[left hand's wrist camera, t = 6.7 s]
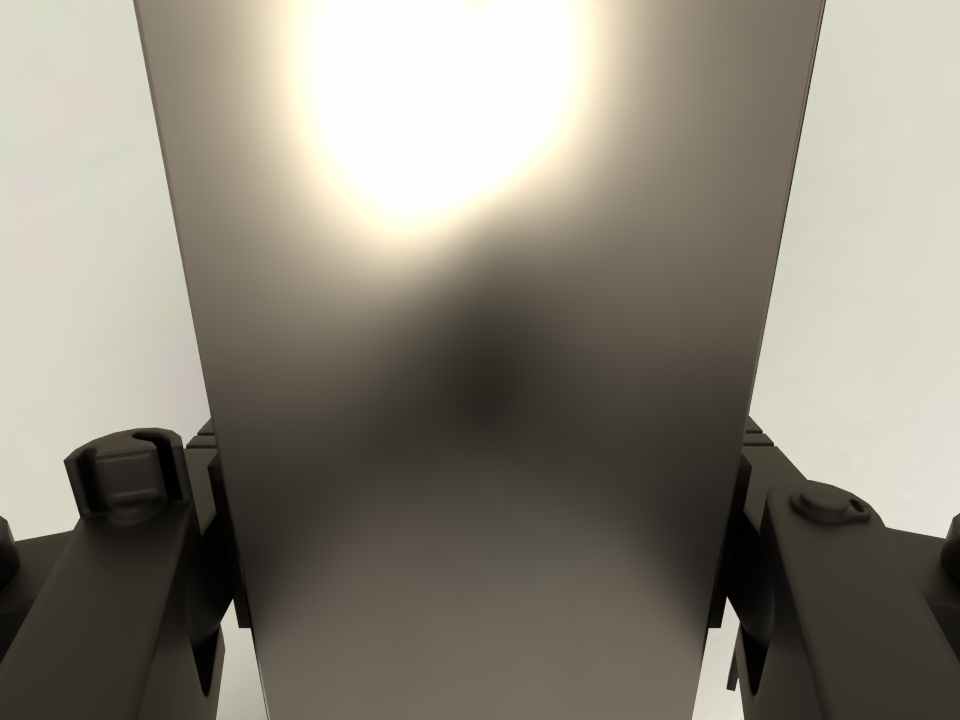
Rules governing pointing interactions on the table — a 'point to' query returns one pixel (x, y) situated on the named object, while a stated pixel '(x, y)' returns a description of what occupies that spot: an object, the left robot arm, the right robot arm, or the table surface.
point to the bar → (479, 331)
